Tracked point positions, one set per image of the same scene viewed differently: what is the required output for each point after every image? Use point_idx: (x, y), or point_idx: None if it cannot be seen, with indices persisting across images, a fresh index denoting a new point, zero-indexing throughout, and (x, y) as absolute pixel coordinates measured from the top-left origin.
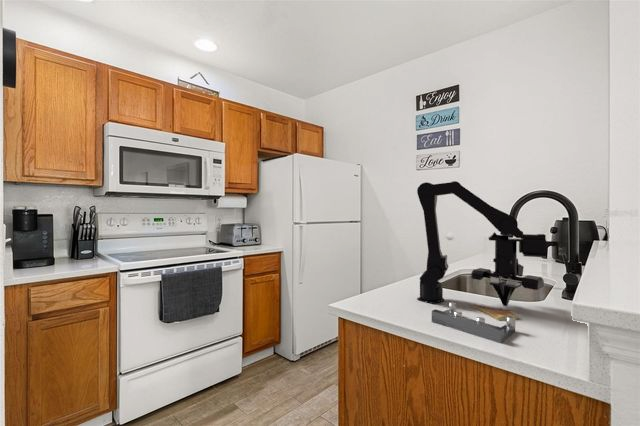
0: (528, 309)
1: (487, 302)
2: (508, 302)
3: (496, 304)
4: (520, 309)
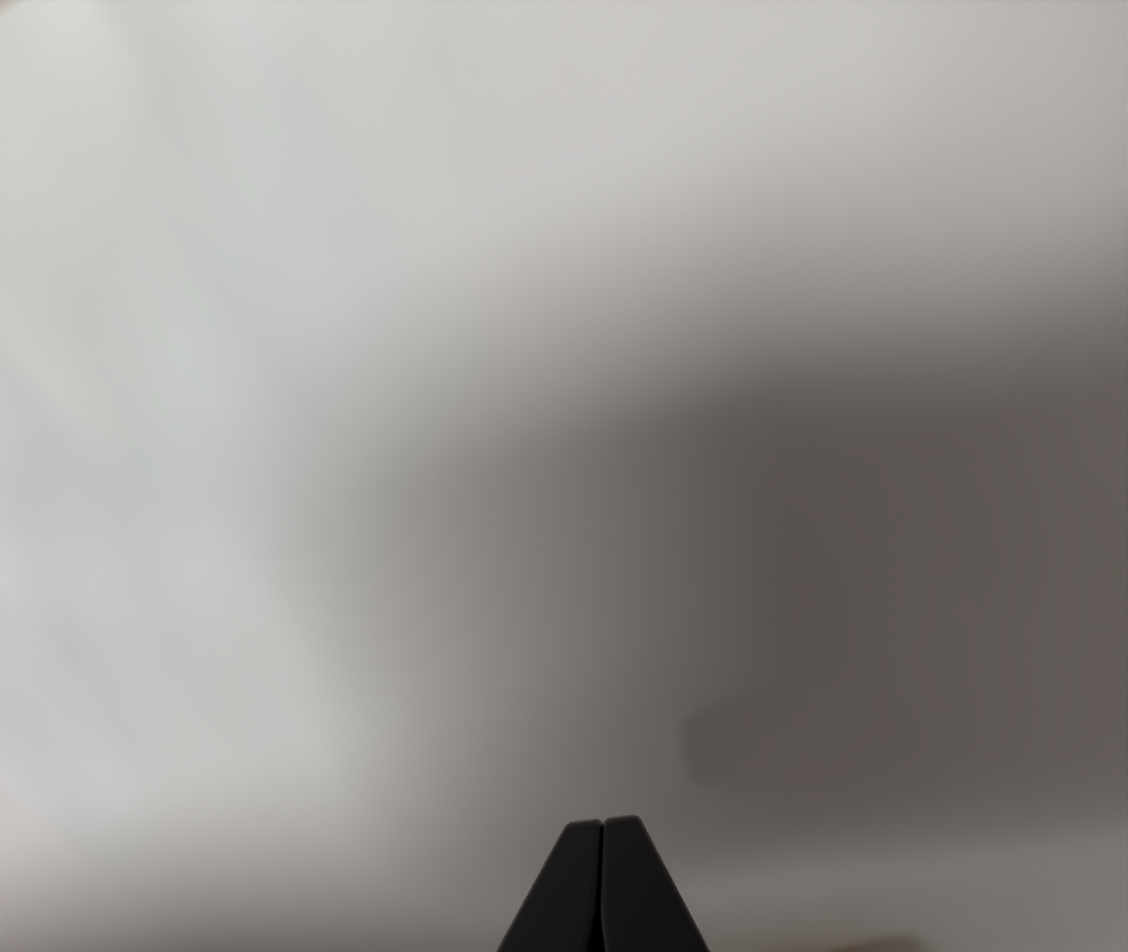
0: (998, 339)
1: (74, 673)
2: (672, 883)
3: (280, 641)
4: (847, 526)
